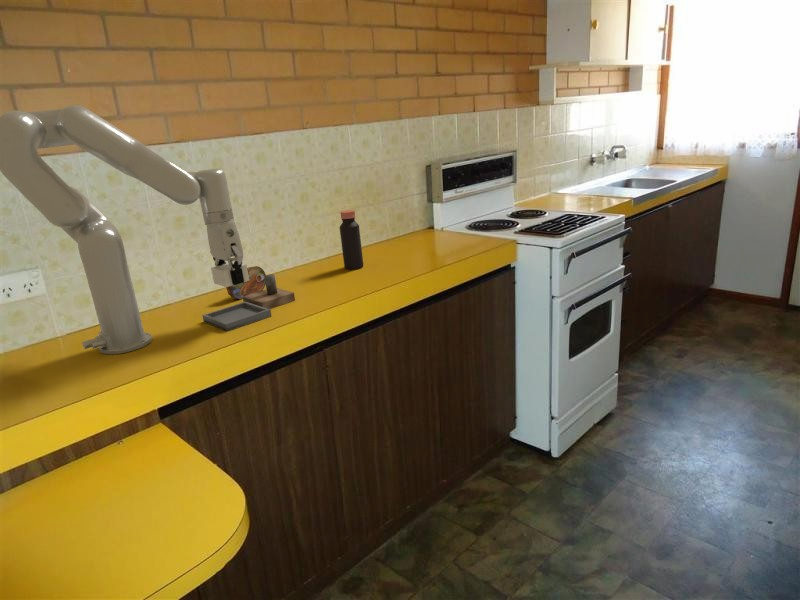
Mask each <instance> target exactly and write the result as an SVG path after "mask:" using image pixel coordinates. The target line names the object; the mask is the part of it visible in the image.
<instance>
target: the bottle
mask: <svg viewBox="0 0 800 600" xmlns="http://www.w3.org/2000/svg"><path fill="white" fill-rule="evenodd" d="M339 214H340V219H341V221H342V223H341V224H340V226H339V234H340V242H341V249H342V258H343V267H344V269H345V270H348V271H349V270H350V271H351V270H359V269H362V268H363V267H364V256H363V249H362V241H361V240H362V239H361V231H360V225H359V223H358V222H357V221H356V213H355V210H353V209H351V210H350V209H349V210H342V211H340V212H339Z"/></svg>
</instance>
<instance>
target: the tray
mask: <svg viewBox="0 0 800 600" xmlns="http://www.w3.org/2000/svg"><path fill="white" fill-rule="evenodd" d="M271 310H272V309H267V308H264V307H261V306H258V305H255V304H252V303H248V302H243V301H242V302H240V303H237V304H234V305H231V306H230V305H229V306H227V307H224V308H220V309H217V310H214V311H211V312H208V313H205V314H202V316H201V317H202V320H203V323H205V324H208V325H209V326H212V327H216V328H217V329H220V330H221V331H222V330H223V331H225V332H230V331H233V330H235V329H239V328H241V327H245V326H248V325H250V324H254V323H256V322H259V321H262V320H266V319H267V318H271V317H272V312H271Z"/></svg>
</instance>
